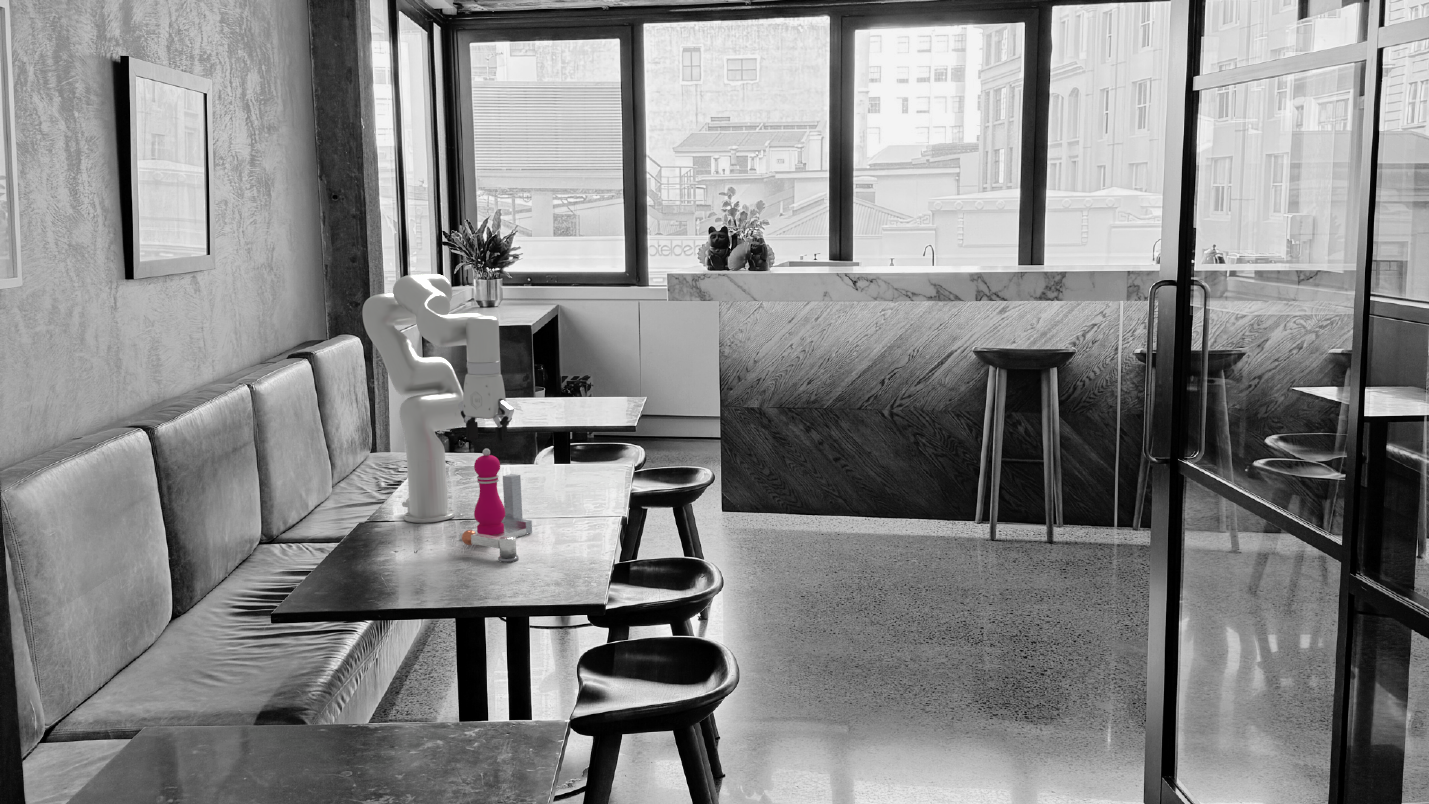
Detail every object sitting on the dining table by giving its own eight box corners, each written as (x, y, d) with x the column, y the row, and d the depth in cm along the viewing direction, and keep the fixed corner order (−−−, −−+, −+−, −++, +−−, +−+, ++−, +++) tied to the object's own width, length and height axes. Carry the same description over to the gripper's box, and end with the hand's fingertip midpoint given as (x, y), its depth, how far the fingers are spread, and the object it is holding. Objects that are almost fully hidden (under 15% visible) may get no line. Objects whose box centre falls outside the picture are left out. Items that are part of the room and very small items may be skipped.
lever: (519, 555, 258) (519, 535, 257) (508, 558, 255) (507, 539, 254) (470, 546, 267) (469, 527, 266) (458, 549, 264) (457, 531, 263)
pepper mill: (499, 536, 272) (495, 451, 270) (470, 535, 274) (465, 451, 271) (510, 528, 279) (506, 446, 277) (481, 528, 281) (477, 445, 278)
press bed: (428, 548, 269) (424, 492, 267) (508, 524, 290) (505, 473, 288) (508, 563, 254) (505, 504, 253) (586, 537, 275) (584, 483, 273)
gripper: (446, 368, 275) (449, 440, 277) (498, 373, 265) (501, 447, 268) (469, 364, 281) (472, 435, 283) (522, 369, 271) (524, 442, 274)
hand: (486, 441), depth 275 cm, fingers open, 9 cm apart
